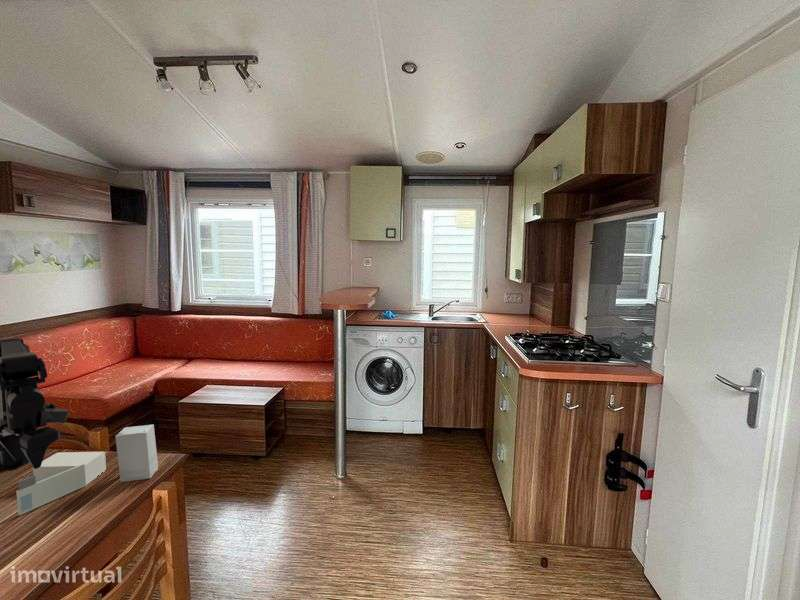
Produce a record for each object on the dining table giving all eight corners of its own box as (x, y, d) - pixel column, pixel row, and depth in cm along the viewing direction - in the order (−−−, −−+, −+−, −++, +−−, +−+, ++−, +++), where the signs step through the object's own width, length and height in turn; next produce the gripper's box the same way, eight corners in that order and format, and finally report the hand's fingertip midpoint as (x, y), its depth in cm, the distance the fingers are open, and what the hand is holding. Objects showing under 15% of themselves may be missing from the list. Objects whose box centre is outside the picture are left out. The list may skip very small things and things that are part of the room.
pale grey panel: (19, 515, 91) (16, 483, 90) (18, 514, 91) (15, 482, 91) (86, 485, 104) (84, 456, 103) (84, 485, 104) (82, 456, 103)
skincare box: (158, 468, 113) (156, 423, 112) (149, 479, 108) (147, 432, 106) (128, 471, 112) (125, 425, 110) (117, 483, 106) (114, 434, 104)
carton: (34, 486, 103) (32, 466, 103) (58, 471, 111) (57, 452, 111) (85, 485, 104) (84, 465, 104) (106, 470, 112) (105, 451, 112)
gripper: (82, 400, 95) (86, 456, 96) (44, 389, 102) (48, 442, 103) (26, 415, 84) (31, 479, 86) (-13, 403, 91) (-8, 461, 93)
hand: (27, 463), depth 92 cm, fingers open, 9 cm apart
